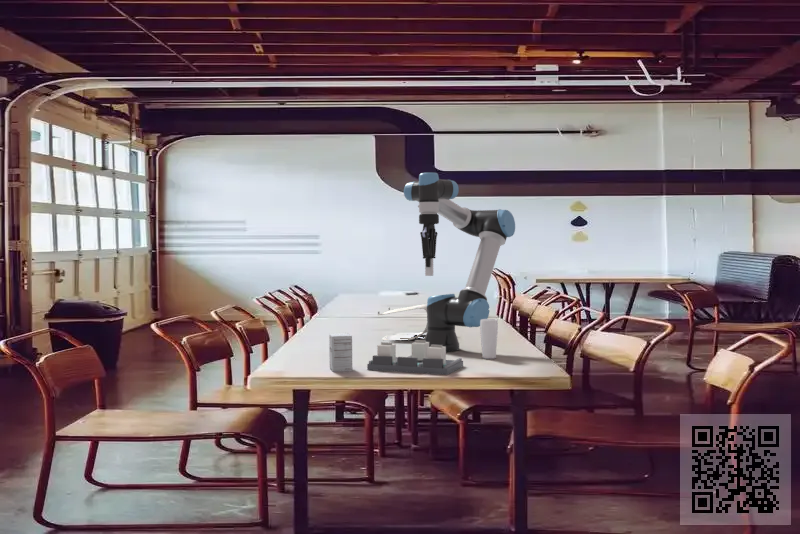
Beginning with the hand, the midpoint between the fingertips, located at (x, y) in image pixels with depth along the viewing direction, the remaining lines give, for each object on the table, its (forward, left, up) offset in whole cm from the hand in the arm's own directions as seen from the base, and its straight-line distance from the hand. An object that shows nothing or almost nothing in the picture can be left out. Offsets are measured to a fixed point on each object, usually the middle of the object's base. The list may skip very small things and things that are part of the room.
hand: (429, 275), depth 286 cm
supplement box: (+30, -23, -33) cm, 50 cm away
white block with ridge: (+13, +1, -30) cm, 33 cm away
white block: (+22, -8, -30) cm, 38 cm away
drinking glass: (-12, +20, -33) cm, 40 cm away
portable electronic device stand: (-60, -32, -33) cm, 76 cm away
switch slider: (+22, +10, -30) cm, 39 cm away
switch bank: (+18, +1, -32) cm, 37 cm away
